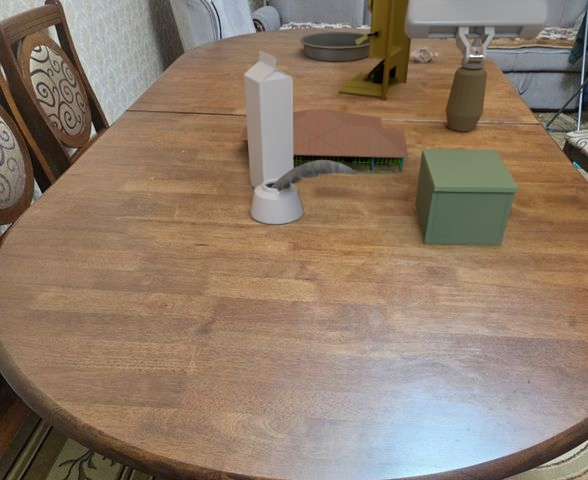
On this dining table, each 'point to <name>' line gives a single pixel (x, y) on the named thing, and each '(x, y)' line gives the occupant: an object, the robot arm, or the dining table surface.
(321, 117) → the house
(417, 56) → the beige rough lump
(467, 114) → the squeeze bottle
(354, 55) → the cake pan
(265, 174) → the milk
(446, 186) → the lid
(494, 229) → the chest
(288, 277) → the dining table surface
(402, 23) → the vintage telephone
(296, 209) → the inkwell
